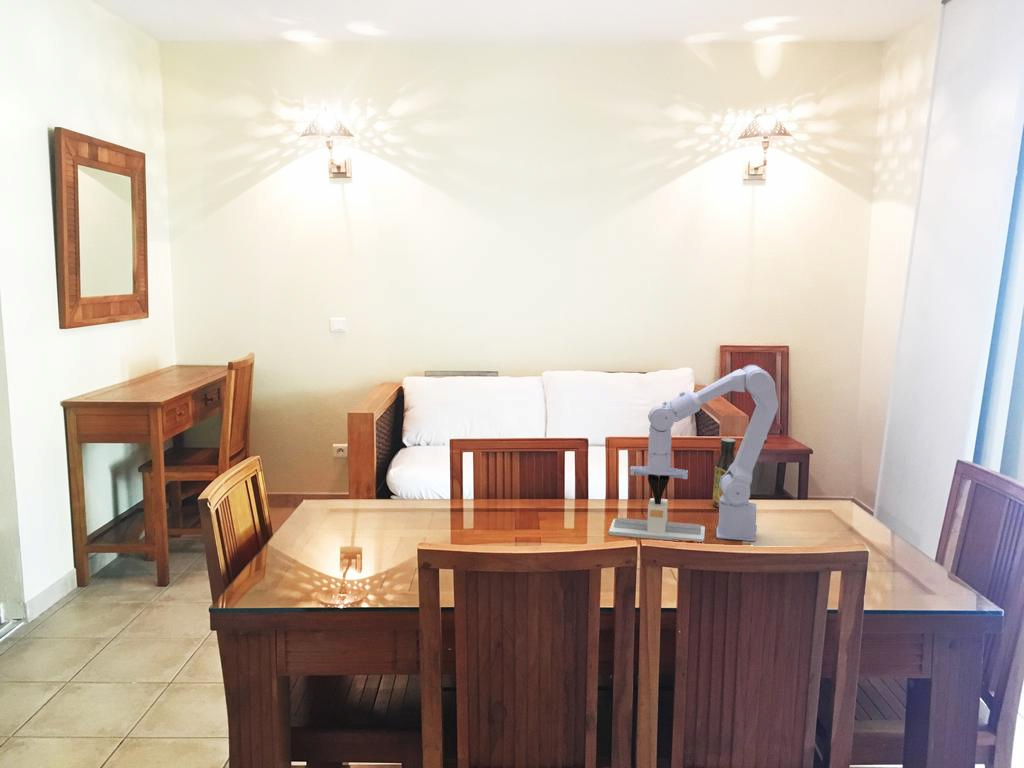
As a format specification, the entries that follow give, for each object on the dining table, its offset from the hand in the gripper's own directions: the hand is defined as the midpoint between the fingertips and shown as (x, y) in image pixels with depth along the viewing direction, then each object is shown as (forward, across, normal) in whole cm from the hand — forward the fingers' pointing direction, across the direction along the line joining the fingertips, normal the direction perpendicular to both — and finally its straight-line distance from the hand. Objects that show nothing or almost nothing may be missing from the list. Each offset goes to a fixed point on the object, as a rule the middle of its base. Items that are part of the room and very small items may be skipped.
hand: (657, 503), depth 206 cm
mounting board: (+8, 0, 0) cm, 8 cm away
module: (+7, 0, 0) cm, 7 cm away
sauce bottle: (+8, -17, -27) cm, 33 cm away
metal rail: (+8, 0, 0) cm, 8 cm away
